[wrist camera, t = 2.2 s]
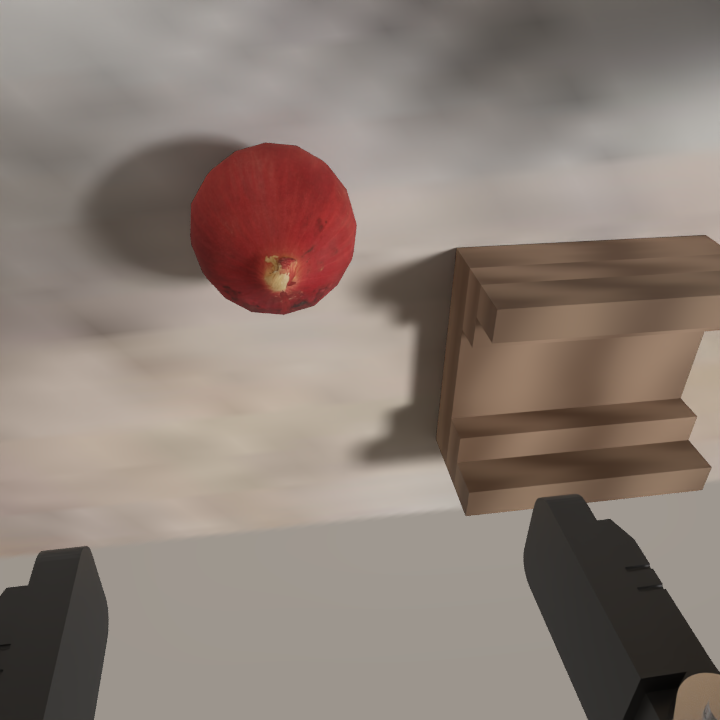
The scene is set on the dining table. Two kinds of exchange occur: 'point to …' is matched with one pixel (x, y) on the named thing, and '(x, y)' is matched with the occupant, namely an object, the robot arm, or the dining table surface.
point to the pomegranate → (273, 228)
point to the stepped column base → (575, 369)
